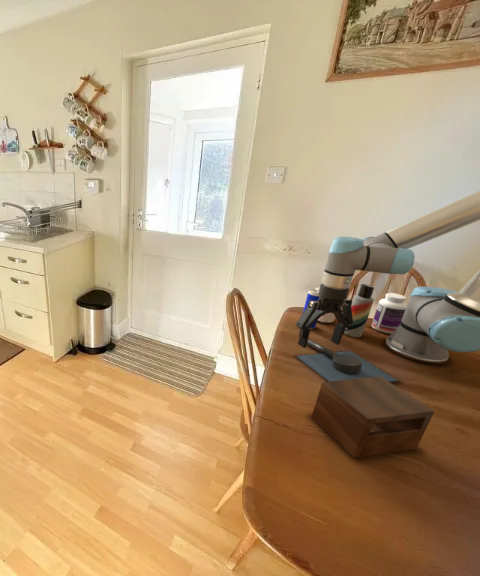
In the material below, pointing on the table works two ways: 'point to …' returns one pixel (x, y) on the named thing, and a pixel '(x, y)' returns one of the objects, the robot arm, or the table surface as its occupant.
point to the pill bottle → (389, 313)
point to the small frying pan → (339, 359)
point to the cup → (326, 316)
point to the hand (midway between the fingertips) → (318, 344)
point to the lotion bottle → (360, 310)
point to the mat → (328, 372)
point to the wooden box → (370, 416)
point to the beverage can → (315, 297)
